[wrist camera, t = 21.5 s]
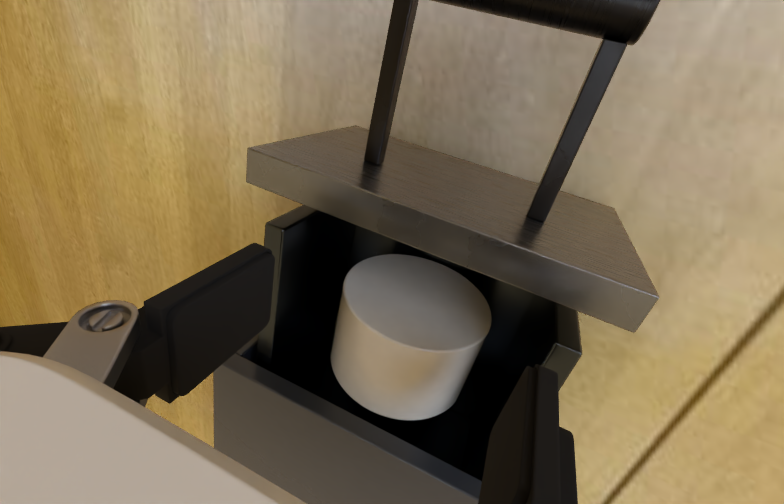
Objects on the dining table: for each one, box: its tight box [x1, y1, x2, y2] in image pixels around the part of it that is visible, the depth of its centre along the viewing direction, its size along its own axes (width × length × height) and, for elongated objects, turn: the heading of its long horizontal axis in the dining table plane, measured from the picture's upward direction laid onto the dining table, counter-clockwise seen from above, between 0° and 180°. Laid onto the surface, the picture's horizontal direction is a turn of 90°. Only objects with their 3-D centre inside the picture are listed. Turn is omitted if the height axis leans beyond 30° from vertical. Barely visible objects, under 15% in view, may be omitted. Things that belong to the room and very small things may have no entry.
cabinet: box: [213, 334, 482, 504], centre depth 22 cm, size 16×14×10 cm
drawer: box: [246, 0, 660, 481], centre depth 16 cm, size 21×12×8 cm, turn 166°
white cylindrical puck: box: [331, 254, 492, 421], centre depth 17 cm, size 6×6×4 cm
